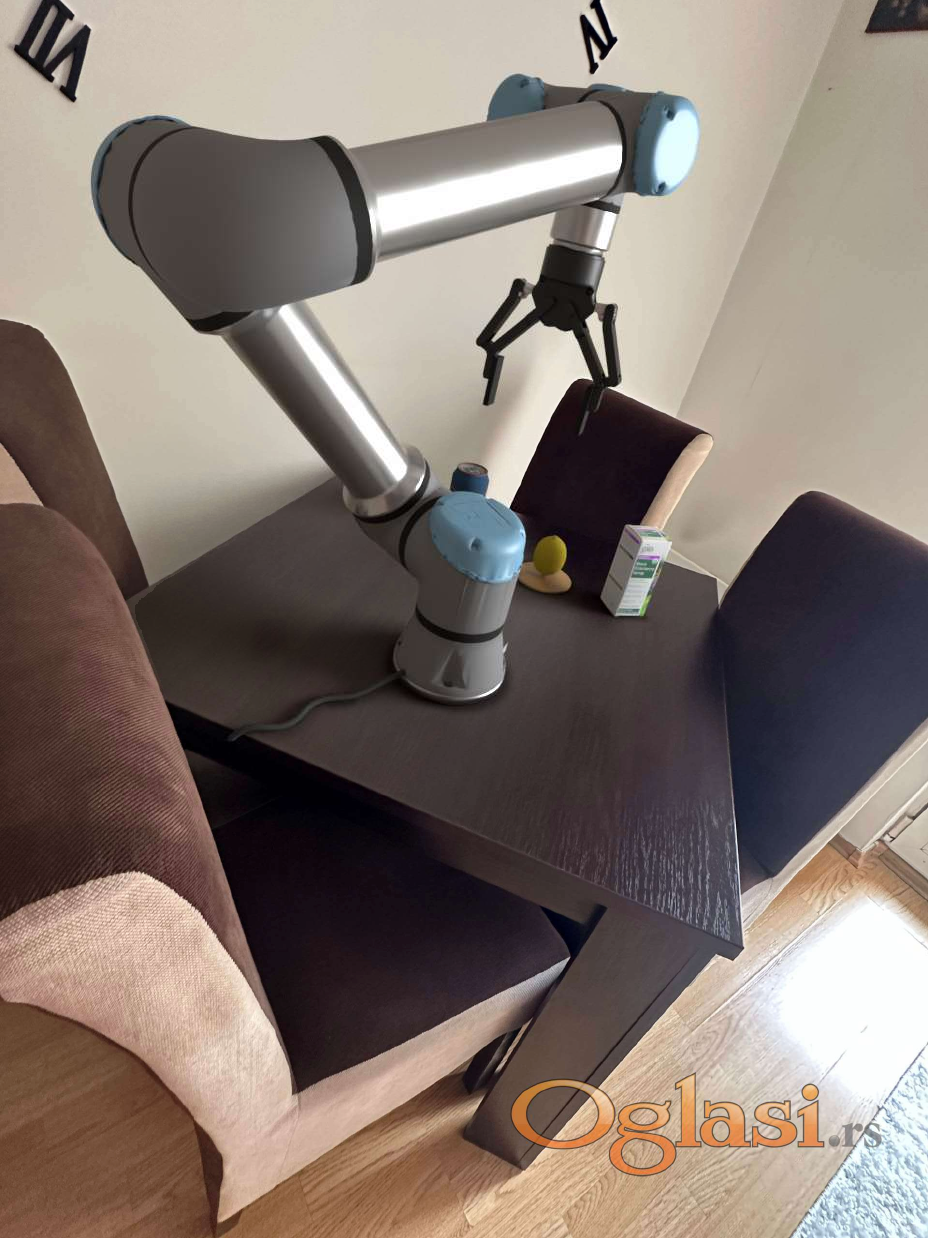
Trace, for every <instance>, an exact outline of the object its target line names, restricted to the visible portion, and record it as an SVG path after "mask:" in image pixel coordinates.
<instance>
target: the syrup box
mask: <svg viewBox="0 0 928 1238" xmlns="http://www.w3.org/2000/svg"><path fill="white" fill-rule="evenodd" d="M672 543H673V541H672V540H671V538H670V537H669V536H668V535H667V534H666V533H665V532H664V531H662V529H660V528H659V527H657V526H656V525H650V526H649V525H634V524H633V525H632V524H625V525H624V528H623V529H622V533H621V537H620V539H619V541H618V545H617V548H616V550H615V554H614V557H613V560H612V563H611V565H610V569H609V571H608V575H607V577H606V580H605V583H604V586H603V589H602V591H601V594H600V600H601V601H602V602H603V604H604V605H605V607H606V608H607V609H608V610H609V612H610V613H611V614H612V616H613V617H621V616H622V617H625V616H626V617H628V616H629V617H644V614H645V612H646V609H647V607H648V605H649V603H650V600H651V597H652V594H653V592H654V589H655V587H656V584H657V582H658V579H659V577H660V574H661V571H662V569H663V566H664V564H665V561H666V559H667V556H668V554H669V551H670V549H671V546H672Z"/></svg>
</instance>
